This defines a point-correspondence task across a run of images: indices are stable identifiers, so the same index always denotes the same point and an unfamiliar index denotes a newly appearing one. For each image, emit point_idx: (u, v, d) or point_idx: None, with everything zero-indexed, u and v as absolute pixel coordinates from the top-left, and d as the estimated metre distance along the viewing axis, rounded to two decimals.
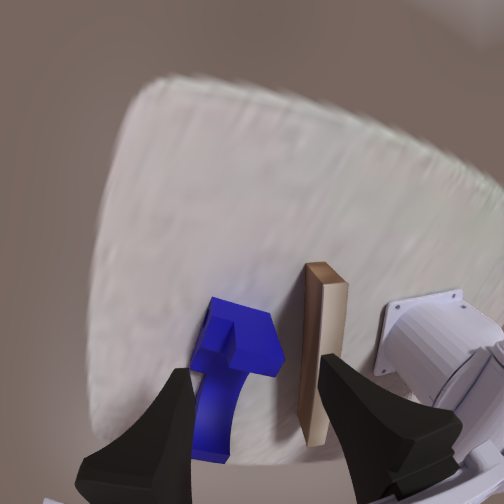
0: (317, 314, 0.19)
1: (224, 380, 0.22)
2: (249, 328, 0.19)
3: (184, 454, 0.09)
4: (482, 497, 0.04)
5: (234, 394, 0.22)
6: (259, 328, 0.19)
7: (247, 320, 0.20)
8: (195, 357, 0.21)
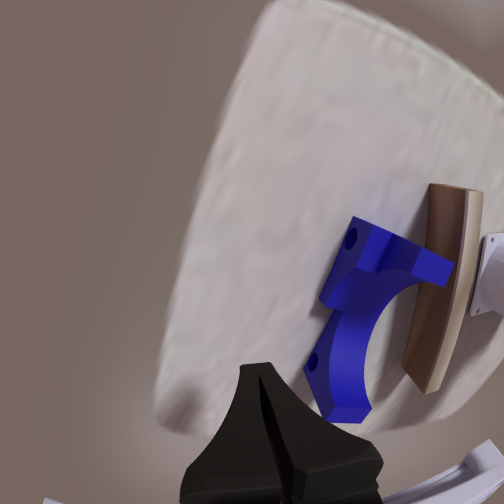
0: (456, 226, 0.16)
1: (358, 319, 0.19)
2: None
3: None
4: (482, 497, 0.04)
5: (366, 336, 0.20)
6: (412, 242, 0.17)
7: None
8: (336, 288, 0.18)
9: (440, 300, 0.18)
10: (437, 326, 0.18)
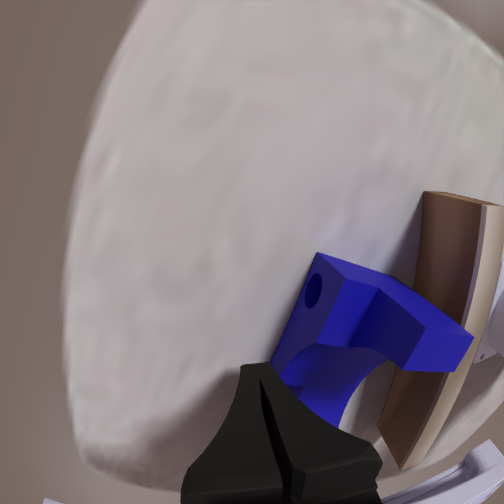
0: (462, 261, 0.10)
1: (327, 393, 0.13)
2: (403, 297, 0.10)
3: None
4: (482, 497, 0.04)
5: (338, 411, 0.14)
6: (410, 296, 0.11)
7: (388, 286, 0.11)
8: (290, 362, 0.12)
9: None
10: (424, 396, 0.12)
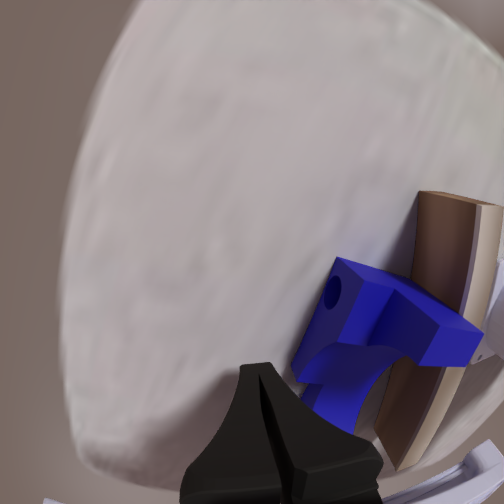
0: (457, 261, 0.10)
1: (345, 390, 0.14)
2: (417, 297, 0.10)
3: None
4: (482, 497, 0.04)
5: (355, 407, 0.14)
6: (423, 296, 0.11)
7: (403, 286, 0.11)
8: (311, 361, 0.13)
9: None
10: (419, 397, 0.12)
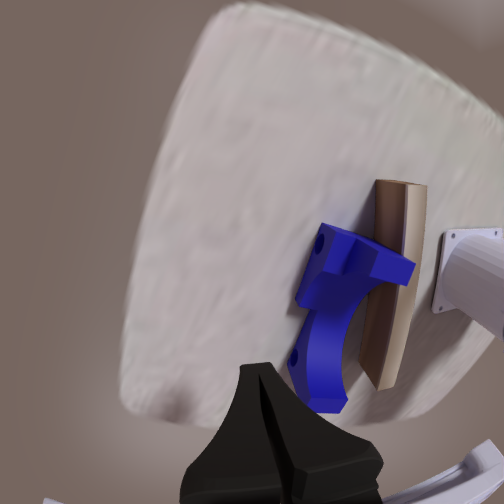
0: (398, 221, 0.18)
1: (333, 316, 0.21)
2: (371, 243, 0.18)
3: None
4: (482, 497, 0.04)
5: (341, 332, 0.22)
6: (377, 244, 0.19)
7: (364, 239, 0.19)
8: (308, 289, 0.20)
9: (387, 295, 0.20)
10: (385, 322, 0.20)
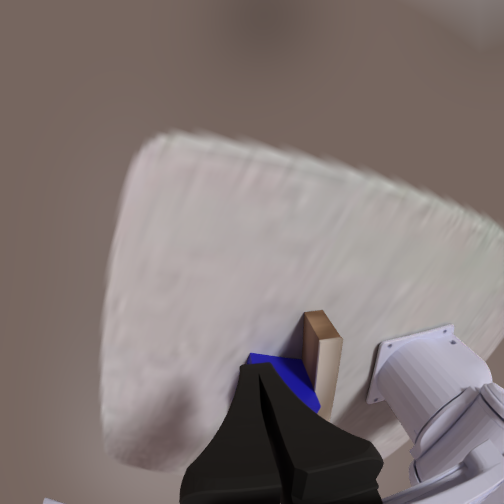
0: (314, 362, 0.20)
1: None
2: (287, 381, 0.21)
3: None
4: (482, 497, 0.04)
5: None
6: (295, 378, 0.21)
7: (284, 372, 0.22)
8: None
9: None
10: None
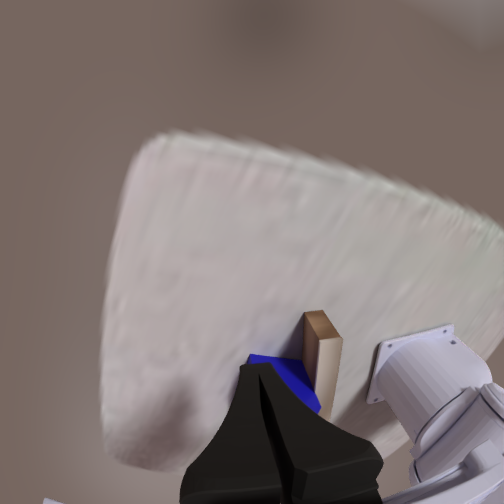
0: (314, 362, 0.20)
1: None
2: (287, 382, 0.21)
3: None
4: (482, 497, 0.04)
5: None
6: (296, 379, 0.21)
7: (284, 373, 0.22)
8: None
9: None
10: None
